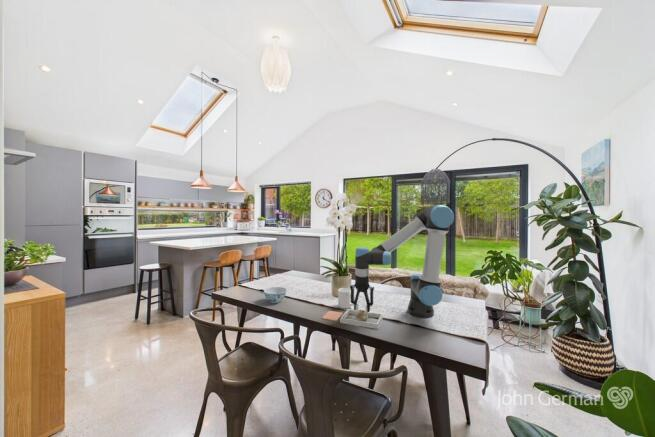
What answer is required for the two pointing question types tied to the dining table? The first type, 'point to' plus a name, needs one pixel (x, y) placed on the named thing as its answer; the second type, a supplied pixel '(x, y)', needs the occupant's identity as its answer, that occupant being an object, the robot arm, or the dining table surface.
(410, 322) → the dining table surface
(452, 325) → the dining table surface
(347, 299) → the mug
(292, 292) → the dining table surface
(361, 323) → the bin
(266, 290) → the chinaware
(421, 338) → the dining table surface
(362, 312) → the beige round lump
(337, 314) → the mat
